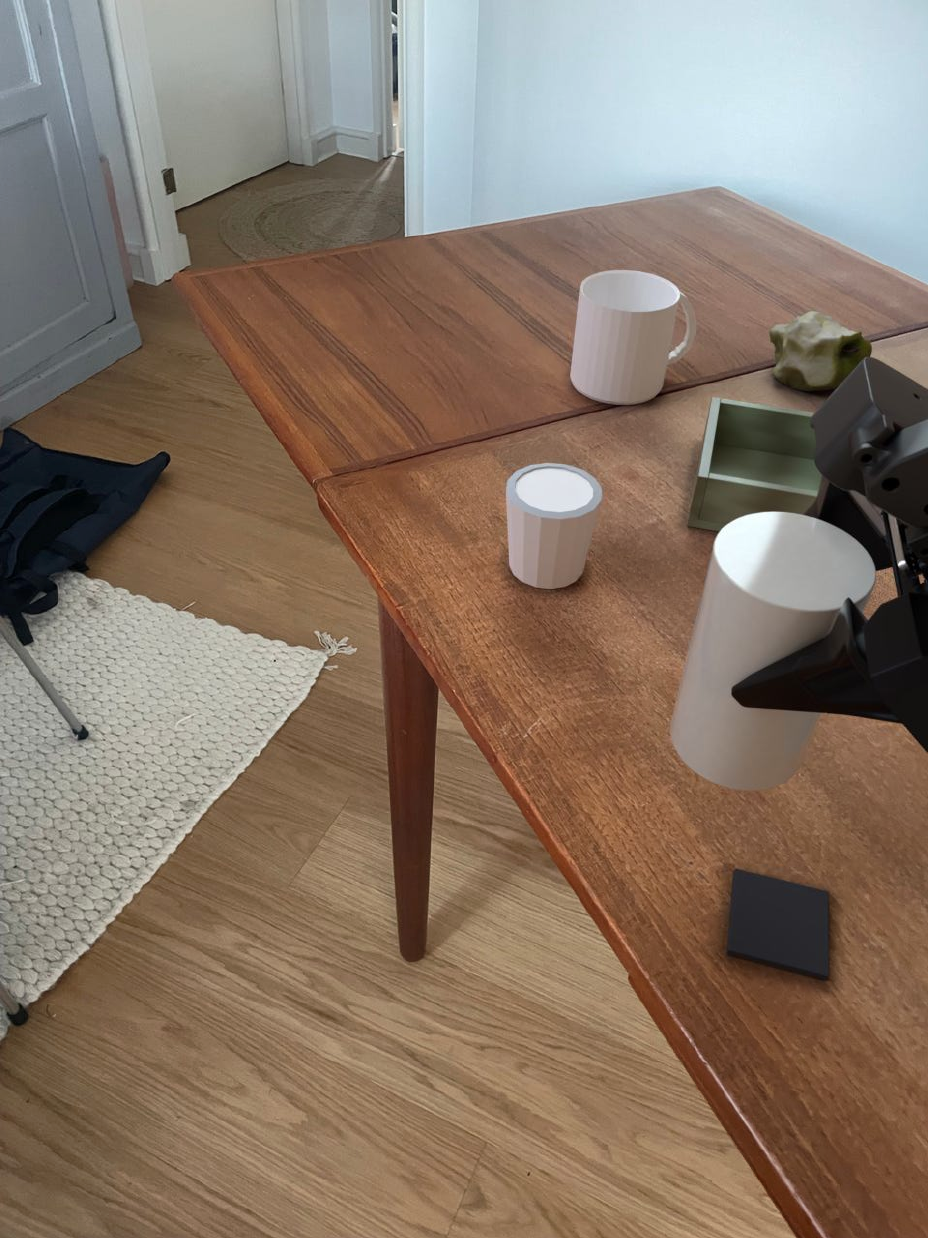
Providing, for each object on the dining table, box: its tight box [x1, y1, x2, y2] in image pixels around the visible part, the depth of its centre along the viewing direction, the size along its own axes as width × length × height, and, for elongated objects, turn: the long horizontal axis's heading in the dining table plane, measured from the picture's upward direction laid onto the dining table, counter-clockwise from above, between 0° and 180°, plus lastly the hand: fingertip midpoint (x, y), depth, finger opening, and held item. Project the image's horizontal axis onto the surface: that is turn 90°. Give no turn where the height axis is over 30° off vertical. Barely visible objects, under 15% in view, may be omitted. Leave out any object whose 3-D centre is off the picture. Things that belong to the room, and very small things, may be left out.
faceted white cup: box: [505, 462, 603, 590], centre depth 68 cm, size 7×7×7 cm
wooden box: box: [686, 396, 822, 533], centre depth 76 cm, size 13×13×5 cm
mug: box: [570, 269, 697, 406], centre depth 88 cm, size 12×9×9 cm
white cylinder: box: [669, 512, 877, 792], centre depth 44 cm, size 7×7×12 cm
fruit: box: [769, 310, 873, 392], centre depth 91 cm, size 9×9×8 cm
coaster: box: [725, 867, 830, 981], centre depth 49 cm, size 5×5×1 cm
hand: (736, 642), depth 44 cm, fingers closed on white cylinder, 7 cm apart
